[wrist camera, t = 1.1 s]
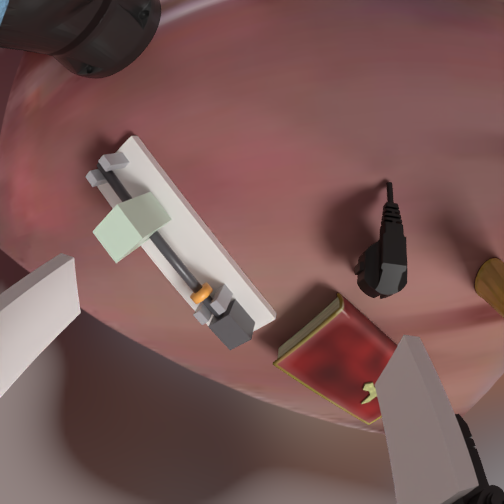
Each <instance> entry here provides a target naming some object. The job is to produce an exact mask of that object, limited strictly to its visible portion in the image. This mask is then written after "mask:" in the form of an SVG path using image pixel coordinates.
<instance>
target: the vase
mask: <svg viewBox="0 0 504 504" xmlns="http://www.w3.org/2000/svg"><path fill="white" fill-rule="evenodd" d="M475 290H476V292H477V294H478V295H479V296H480V297H482V298H483V299H484V300H485V301H486V302H487V303H488V304H490V305H491V306H492V307H493V308H494V309H495V310H496V311H497V312H498V313H499V314H500V315H501V316H503V318H504V263H503V262H502V260H500V259H497V258H492V259H489V260H488V261H486V262H485V263H484V264H483V265H482V266H481V268H480V269H479V271H478V274H477V276H476V279H475Z"/></svg>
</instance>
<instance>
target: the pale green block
mask: <svg viewBox="0 0 504 504" xmlns="http://www.w3.org/2000/svg"><path fill="white" fill-rule="evenodd" d="M170 220H172V219H171V218H170V216H169V215H168V214H167V212H166V211H165V210H164V209H163V207H162V206H161V205H160V203H159V202H158V201H157V199H156V198H155V197H154V195H153V194H152V193H151V192H148V193H146V194H143V195H140V196H137V197H135V198H132V199H130V200H127V201H124V202H122V203H119V204H117V205H116V206H115V207H114V208H113V209H112V211H111V212H110V213H109V214H108V215H107V216H106V217H105V218H104V219H103V220H102V222H101V223H100V224H99V225H98V226H97V227H96V228H95V230H94V231H93V233H94V234H95V236H96V237H97V239H98V240H99V241H100V243H101V244H102V245H103V247H104V248H105V249H106V251H107V252H108V253H109V255H110V256H111V257H112V259H113V260H114V261H115V262H116V263H117V262H119V261H120V260H121V259H123V258H124V257H125V256H127V255H128V254H130V253H131V252H132V251H134V250H135V249H137V248H138V247H139V246H141V245H142V244H144V243H145V242H146V241H148V240H149V239H150V238H149V237H150V236H151V235H152V234H153V233H154V232H156V231H157V230H159V229H160V228H162V227H163V226H165V225H166V224H167V223H168V222H169V221H170Z"/></svg>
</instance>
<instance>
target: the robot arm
mask: <svg viewBox="0 0 504 504" xmlns="http://www.w3.org/2000/svg"><path fill="white" fill-rule="evenodd" d="M160 16H161V5H160V1H159V0H0V47H1V48H10V49H17V50H24V51H30V52H36V53H42V54H48V55H52V56H53V57H54V58H56V59H57V60H58V61H59V62H60V63H61V64H63V65H64V66H65V67H66V68H67V69H68V70H70V71H71V72H72V73H74V74H77V75H79V76H84V77H88V78H103V77H107V76H110V75H113V74H115V73H117V72H119V71H121V70H122V69H124V68H125V67H127V66H128V65H129V64H131V63H132V62H133V61H134V60H135V59H136V58H137V57H138V56H139V55H140V54H141V53H142V52H143V51H144V50H145V48H146V47H147V46H148V44H149V43H150V41H151V40H152V38H153V36H154V34H155V32H156V30H157V27H158V25H159V21H160ZM79 313H81V312H80V305H79V298H78V291H77V283H76V273H75V263H74V257H71V256H68V255H65V254H62V253H61V254H59V255H57V256H56V257H54V258H53V259H51V260H50V261H48V262H47V263H45V264H43V265H42V266H40V267H39V268H37V269H36V270H34V271H33V272H31V273H30V274H29V275H27V276H26V277H24V278H23V279H21V280H20V281H18V282H17V283H16V284H14V285H13V286H11V287H10V288H9V289H7V290H6V291H4V292H3V293H2V294H0V398H1V397H2V395H3V394H4V393H5V392H6V391H7V390H8V388H9V387H10V386H11V385H12V384H13V383H14V382H15V380H16V379H17V378H18V377H19V376H20V375H21V374H22V373H23V372H24V370H25V369H26V368H27V367H28V366H29V365H30V364H31V363H32V362H33V361H34V360H35V359H36V357H37V356H38V355H39V354H40V353H41V352H42V351H43V350H44V349H45V348H46V347H47V346H48V345H49V344H50V343H51V341H53V340H54V339H55V338H56V337H57V336H58V334H60V333H61V331H62V330H64V329H65V328H66V327H67V326H68V324H70V323H71V322H72V320H74V319H75V318H76V317H77V316H78V315H79ZM375 389H376V393H377V397H378V402H379V406H380V411H381V415H382V420H383V425H384V430H385V435H386V440H387V445H388V450H389V455H390V462H391V468H392V474H393V481H394V488H395V495H396V502H397V504H504V492H503V490H502V489H501V488H499V487H498V486H495V485H491V486H489V484H488V482H487V479H486V476H485V472H484V469H483V466H482V463H481V460H480V457H479V455H478V452H477V449H475V443H474V440H473V439H472V435H471V433H470V430H469V427H468V425H467V424H466V422H465V421H464V420H463V418H462V417H461V416H460V415H459V414H454V411H453V409H452V406H451V404H450V402H449V399H448V397H447V395H446V392H445V390H444V388H443V385H442V383H441V381H440V379H439V376H438V374H437V372H436V370H435V368H434V366H433V364H432V361H431V359H430V357H429V355H428V353H427V351H426V349H425V347H424V345H423V343H422V341H421V339H420V337H416V336H409V335H403V337H402V339H401V341H400V342H399V344H398V346H397V348H396V350H395V351H394V353H393V355H392V357H391V358H390V360H389V362H388V364H387V365H386V367H385V369H384V370H383V372H382V373H381V375H380V377H379V378H378V380H377V382H376V383H375Z"/></svg>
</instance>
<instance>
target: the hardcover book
mask: <svg viewBox="0 0 504 504" xmlns="http://www.w3.org/2000/svg"><path fill="white" fill-rule="evenodd" d="M336 295H337V296H338V297H337V298H336V299H335V300H334V301H333V302H332V303H331V304H330V305H328V306H327V307H326V308H325V309H324V310H323V311H322V312H321V313H319V314H318V315H317V316H316V317H315V318H314V319H313V320H311V321H310V322H309V323H308V324H307V325H306V326H304V327H303V328H302V329H301V330H300V331H299V332H297V333H296V334H295V335H294V336H293V337H291V338H290V339H289V340H288V341H287V342H285V343H284V344H283V345H282V346H280V347H279V350H278V359H277V360H276V361H274V362H273V365H274V366H276V367H277V368H279V369H280V370H282V371H283V372H285V373H286V374H288V375H289V376H290V377H292V378H293V379H295V380H296V381H298V382H300V383H301V384H303V385H304V386H306V387H307V388H309V389H310V390H312V391H313V392H315V393H316V394H318V395H320V396H321V397H323V398H324V399H326V400H328V401H329V402H331V403H332V404H334V405H336V406H337V407H339V408H341V409H342V410H344V411H346V412H347V413H349V414H351V415H352V416H354V417H356V418H357V419H359V420H361V421H362V422H364V423H366V424H368V425H369V424H371V423H373V422H374V421H376V420H378V419H379V418H381V417H382V415H381V411H380V406H379V402H378V397H377V393H376V389H375V383H376V382H377V380H378V378H379V377H380V375H381V373H382V372H383V370H384V369H385V367H386V365H387V364H388V362H389V360H390V358H391V357H392V355H393V353H394V351H395V350H396V348H397V345H396V344H395V343H394V342H393V341H392V340H391V339H389V338H388V337H387V336H386V335H385V334H384V333H383V332H382V331H381V330H380V329H379V328H377V327H376V326H375V325H374V324H373V323H372V322H371V321H370V320H369V319H368V318H366V317H365V316H364V315H363V314H362V313H361V312H360V311H359V310H358V309H356V308H355V307H354V306H353V305H352V304H351V303H350V302H349V301H348V300H346V299H345V298H344V297H343V296H342V295H341V294H340V293H338V294H336Z"/></svg>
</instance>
